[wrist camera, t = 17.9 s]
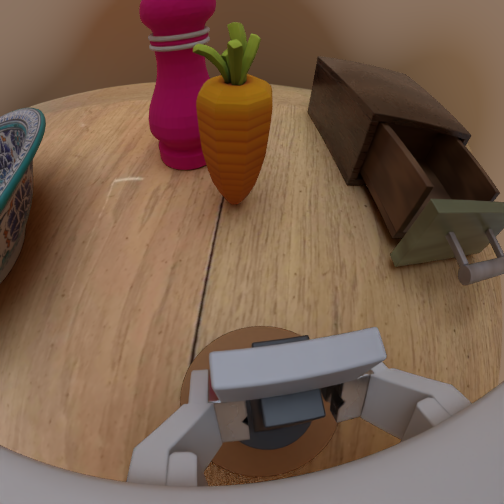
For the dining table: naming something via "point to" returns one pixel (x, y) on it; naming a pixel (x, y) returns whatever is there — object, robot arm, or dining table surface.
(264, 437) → the dark grey tall piece
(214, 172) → the carrot
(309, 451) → the coaster
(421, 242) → the drawer
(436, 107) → the cabinet
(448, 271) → the dining table surface
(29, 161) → the bowl
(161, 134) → the pepper mill
